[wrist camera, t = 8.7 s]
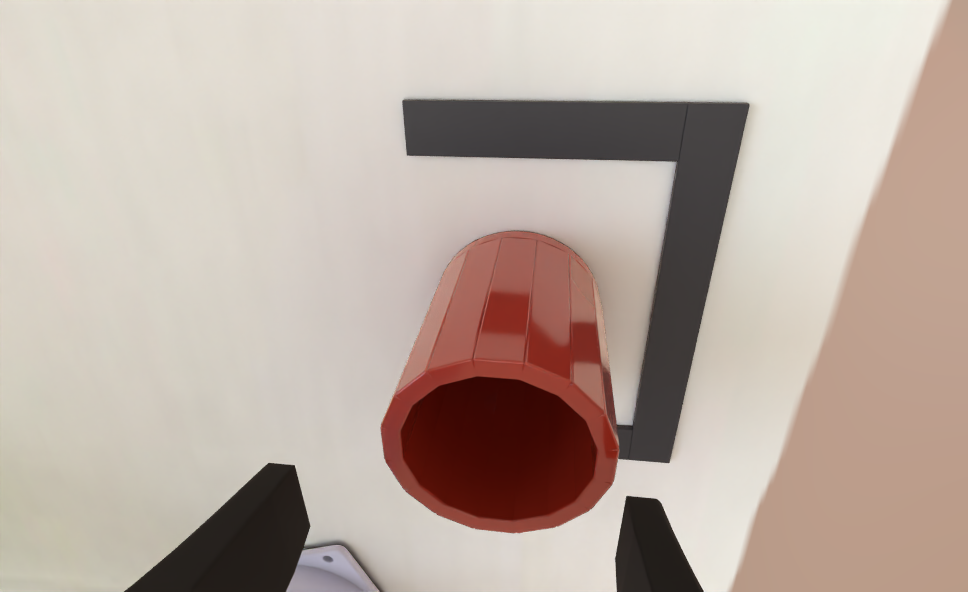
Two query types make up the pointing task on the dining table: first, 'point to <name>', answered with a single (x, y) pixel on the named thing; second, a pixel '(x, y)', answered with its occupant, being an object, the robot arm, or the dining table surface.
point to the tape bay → (690, 225)
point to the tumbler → (507, 391)
